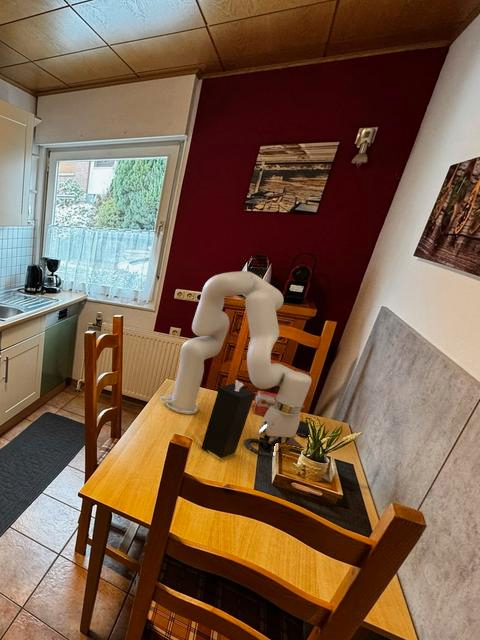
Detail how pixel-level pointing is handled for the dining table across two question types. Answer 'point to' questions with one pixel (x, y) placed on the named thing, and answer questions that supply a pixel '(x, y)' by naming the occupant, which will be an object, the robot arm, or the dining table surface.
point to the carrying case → (303, 429)
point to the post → (290, 442)
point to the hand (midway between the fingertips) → (270, 450)
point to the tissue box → (227, 419)
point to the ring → (249, 447)
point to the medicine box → (264, 402)
